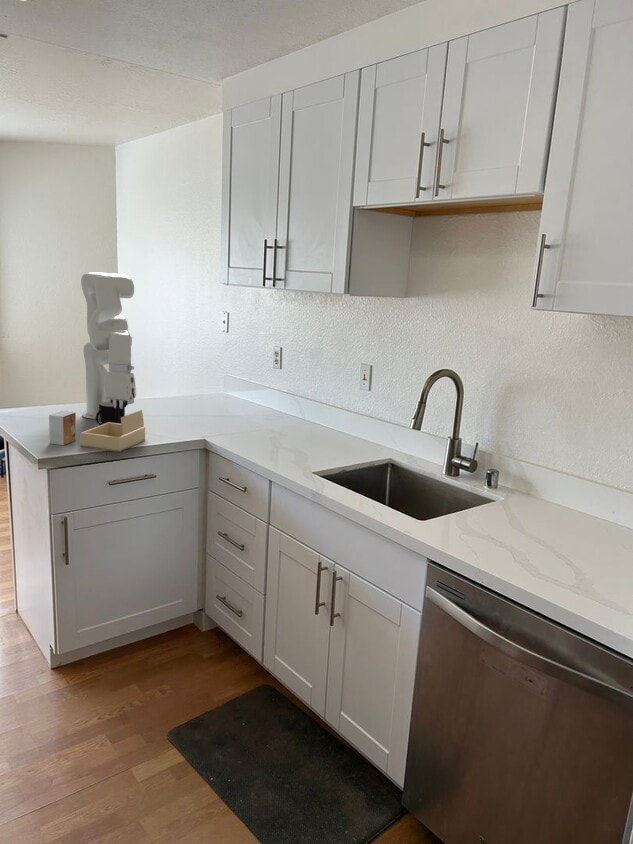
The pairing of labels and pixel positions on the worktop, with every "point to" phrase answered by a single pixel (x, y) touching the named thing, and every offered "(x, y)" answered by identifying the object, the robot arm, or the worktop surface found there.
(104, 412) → the mug
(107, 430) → the carton
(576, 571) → the worktop surface
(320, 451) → the worktop surface
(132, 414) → the flap
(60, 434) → the small box
